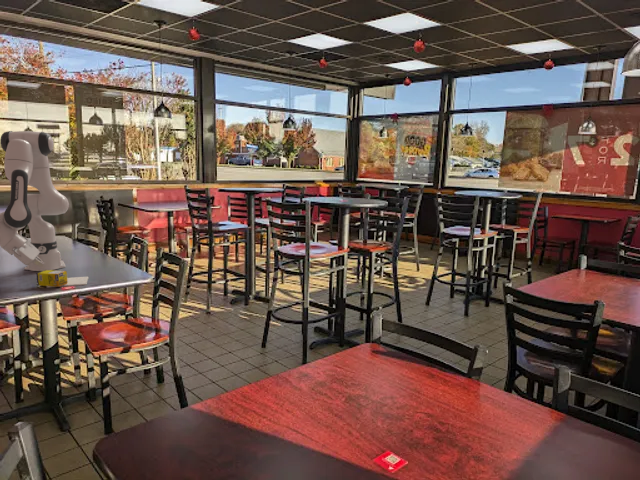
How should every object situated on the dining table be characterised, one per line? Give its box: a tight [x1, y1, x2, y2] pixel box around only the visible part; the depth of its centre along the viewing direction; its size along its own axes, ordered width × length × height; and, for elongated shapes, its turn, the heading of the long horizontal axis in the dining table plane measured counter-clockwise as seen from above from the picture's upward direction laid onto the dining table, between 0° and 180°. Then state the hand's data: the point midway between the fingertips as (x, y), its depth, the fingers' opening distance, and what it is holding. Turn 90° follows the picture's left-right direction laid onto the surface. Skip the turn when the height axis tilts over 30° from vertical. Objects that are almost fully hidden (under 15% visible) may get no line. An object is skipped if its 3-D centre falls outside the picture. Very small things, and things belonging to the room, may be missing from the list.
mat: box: [46, 276, 89, 288], centre depth 221 cm, size 14×16×1 cm
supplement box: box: [35, 270, 68, 288], centre depth 214 cm, size 6×6×11 cm
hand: (43, 265), depth 216 cm, fingers closed
